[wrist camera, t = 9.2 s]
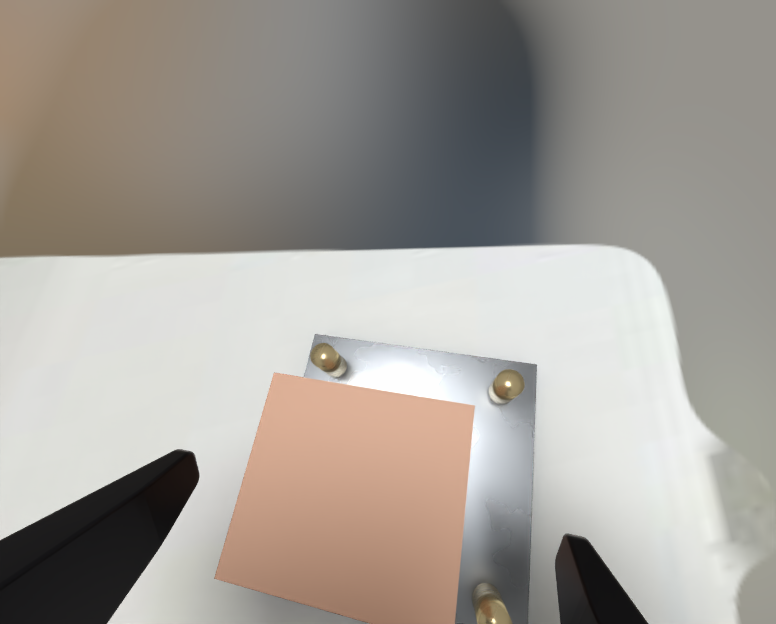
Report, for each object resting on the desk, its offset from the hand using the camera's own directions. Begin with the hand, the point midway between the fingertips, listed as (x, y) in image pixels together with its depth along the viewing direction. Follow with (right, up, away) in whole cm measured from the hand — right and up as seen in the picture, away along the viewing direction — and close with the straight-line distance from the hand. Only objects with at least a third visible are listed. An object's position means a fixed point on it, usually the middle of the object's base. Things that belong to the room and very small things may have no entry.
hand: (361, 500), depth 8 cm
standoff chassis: (+1, -3, +10) cm, 10 cm away
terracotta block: (+1, -3, +9) cm, 9 cm away
